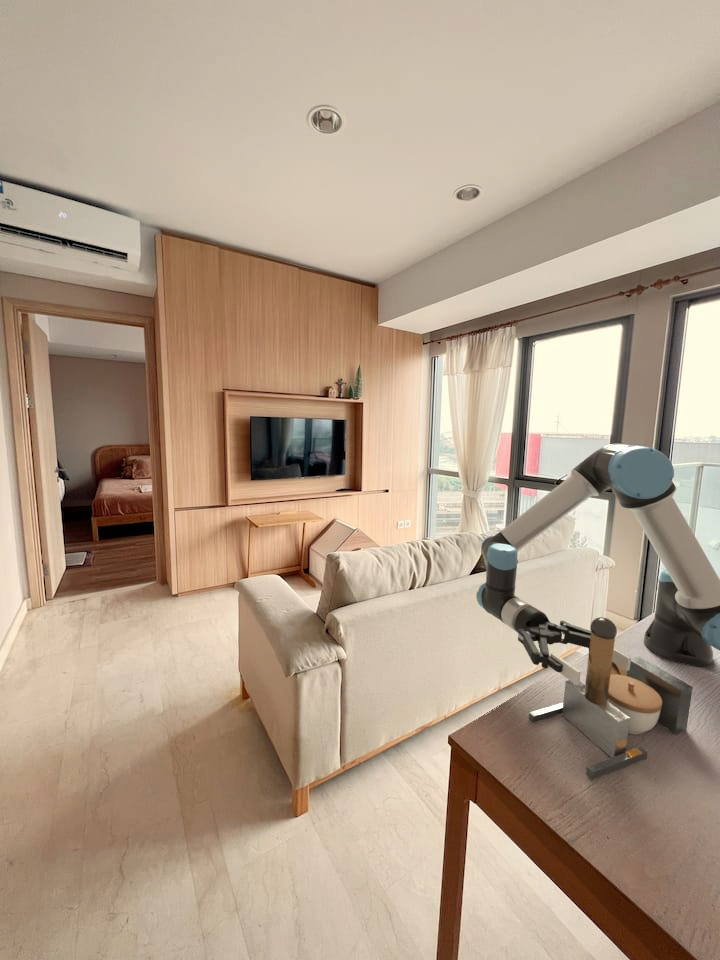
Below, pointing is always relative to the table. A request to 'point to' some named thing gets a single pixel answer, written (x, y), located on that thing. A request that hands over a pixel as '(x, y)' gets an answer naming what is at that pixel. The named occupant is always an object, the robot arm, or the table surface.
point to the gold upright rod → (598, 694)
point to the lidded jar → (635, 702)
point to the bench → (671, 718)
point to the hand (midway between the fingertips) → (604, 671)
